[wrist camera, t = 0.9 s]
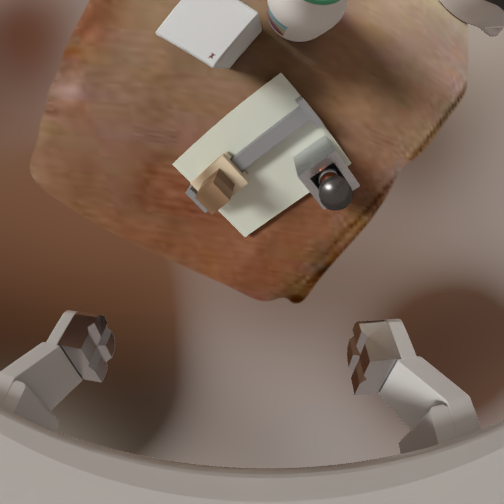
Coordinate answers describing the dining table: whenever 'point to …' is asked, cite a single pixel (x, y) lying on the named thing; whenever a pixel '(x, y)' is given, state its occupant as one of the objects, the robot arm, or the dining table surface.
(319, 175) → the knob
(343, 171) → the cabinet
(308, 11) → the milk bottle
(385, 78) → the dining table surface
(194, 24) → the supplement box
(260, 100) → the rail bed
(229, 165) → the carriage
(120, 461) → the robot arm
